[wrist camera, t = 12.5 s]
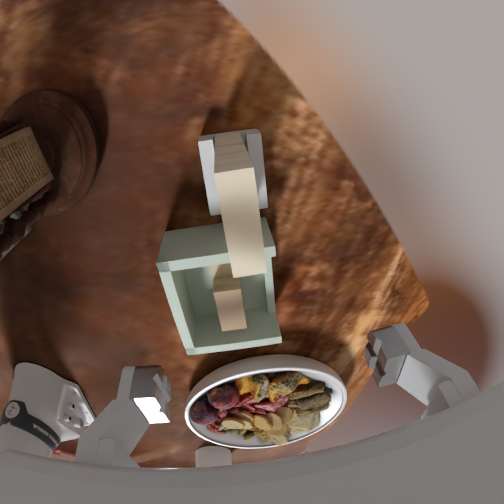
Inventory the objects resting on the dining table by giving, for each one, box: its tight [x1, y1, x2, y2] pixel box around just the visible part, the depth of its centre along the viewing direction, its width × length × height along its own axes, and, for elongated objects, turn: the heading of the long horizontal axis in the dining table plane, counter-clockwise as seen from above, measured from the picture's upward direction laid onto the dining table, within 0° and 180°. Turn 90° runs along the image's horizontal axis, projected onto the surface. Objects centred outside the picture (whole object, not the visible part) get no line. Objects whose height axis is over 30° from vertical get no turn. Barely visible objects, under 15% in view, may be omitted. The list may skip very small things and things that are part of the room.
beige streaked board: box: [214, 132, 267, 278], centre depth 27 cm, size 8×2×14 cm, turn 7°
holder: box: [198, 128, 268, 216], centre depth 33 cm, size 8×6×3 cm
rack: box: [156, 217, 282, 355], centre depth 38 cm, size 14×12×7 cm
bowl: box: [185, 354, 347, 449], centre depth 54 cm, size 30×30×8 cm
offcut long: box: [210, 263, 246, 317], centre depth 39 cm, size 9×3×3 cm, turn 6°
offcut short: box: [213, 277, 247, 331], centre depth 37 cm, size 6×3×2 cm, turn 6°
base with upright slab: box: [196, 446, 232, 467], centre depth 64 cm, size 9×9×12 cm
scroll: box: [0, 89, 100, 260], centre depth 22 cm, size 15×15×20 cm
